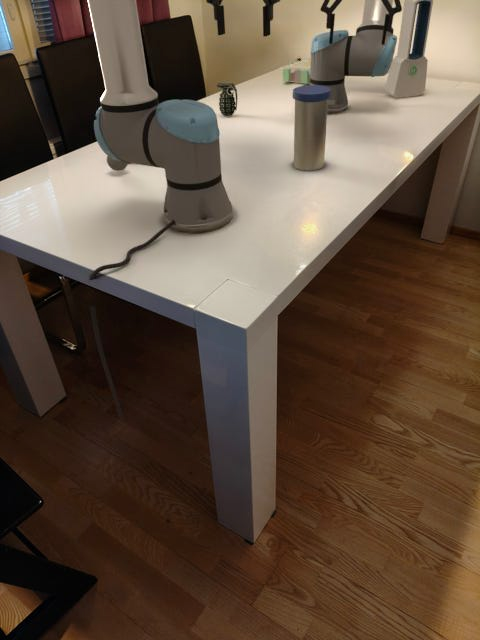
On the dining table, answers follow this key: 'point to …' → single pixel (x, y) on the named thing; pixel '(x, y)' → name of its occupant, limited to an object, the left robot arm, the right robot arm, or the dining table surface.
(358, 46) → the right robot arm
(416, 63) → the electronic device
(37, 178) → the dining table surface
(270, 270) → the dining table surface
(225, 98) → the grenade
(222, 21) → the left robot arm
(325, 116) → the jar
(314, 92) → the lid
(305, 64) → the decorative block
